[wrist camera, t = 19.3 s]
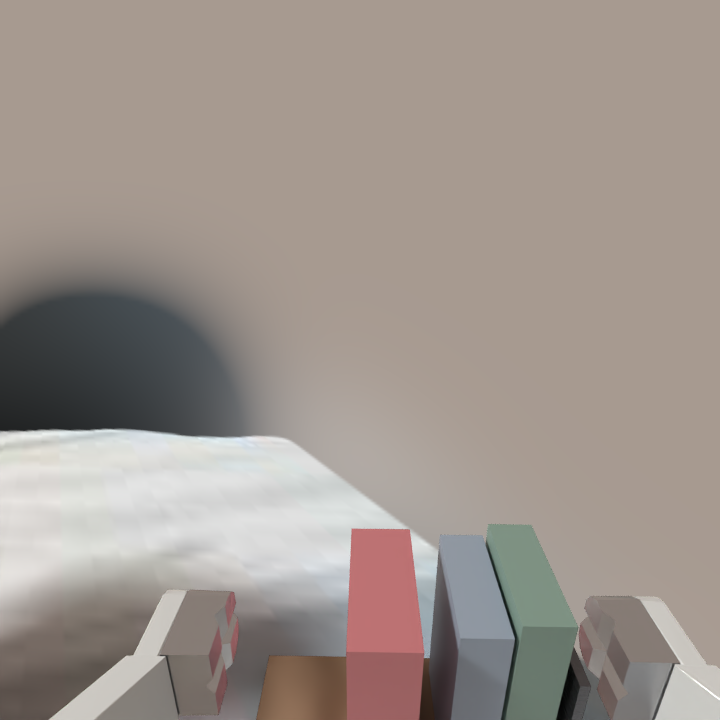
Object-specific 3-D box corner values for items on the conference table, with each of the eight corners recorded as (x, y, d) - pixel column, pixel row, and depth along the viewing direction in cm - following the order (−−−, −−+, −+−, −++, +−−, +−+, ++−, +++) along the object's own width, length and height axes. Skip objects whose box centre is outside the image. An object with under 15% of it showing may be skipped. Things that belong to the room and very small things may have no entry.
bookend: (550, 799, 31) (580, 686, 27) (511, 665, 39) (529, 563, 35) (559, 800, 31) (591, 686, 27) (518, 665, 39) (537, 563, 35)
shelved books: (443, 788, 31) (462, 625, 26) (428, 669, 39) (440, 523, 33) (538, 790, 31) (578, 627, 26) (505, 671, 39) (531, 524, 33)
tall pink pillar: (348, 817, 30) (346, 651, 24) (352, 676, 38) (351, 528, 33) (411, 818, 30) (424, 653, 24) (401, 677, 38) (409, 529, 33)
